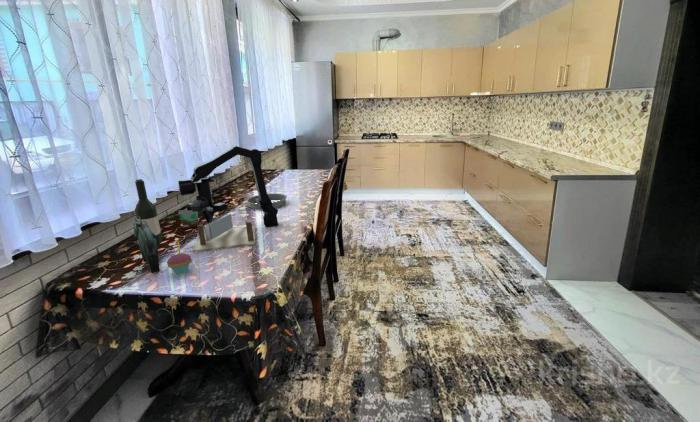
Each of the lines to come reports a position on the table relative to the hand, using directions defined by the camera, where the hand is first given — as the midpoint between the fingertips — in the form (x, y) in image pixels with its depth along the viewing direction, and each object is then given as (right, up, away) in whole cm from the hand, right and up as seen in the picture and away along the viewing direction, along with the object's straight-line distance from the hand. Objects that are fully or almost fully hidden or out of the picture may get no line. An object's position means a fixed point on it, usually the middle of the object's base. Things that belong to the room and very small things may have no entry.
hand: (209, 224), depth 168 cm
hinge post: (+1, -10, -10) cm, 14 cm away
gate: (+6, -5, -2) cm, 8 cm away
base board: (+9, -7, -2) cm, 11 cm away
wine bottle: (-26, -9, -2) cm, 28 cm away
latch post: (+22, -8, -7) cm, 24 cm away
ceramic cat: (-12, -16, -26) cm, 33 cm away
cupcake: (+3, -17, -34) cm, 38 cm away
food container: (-16, -2, +20) cm, 26 cm away
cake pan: (+15, +10, +54) cm, 57 cm away
